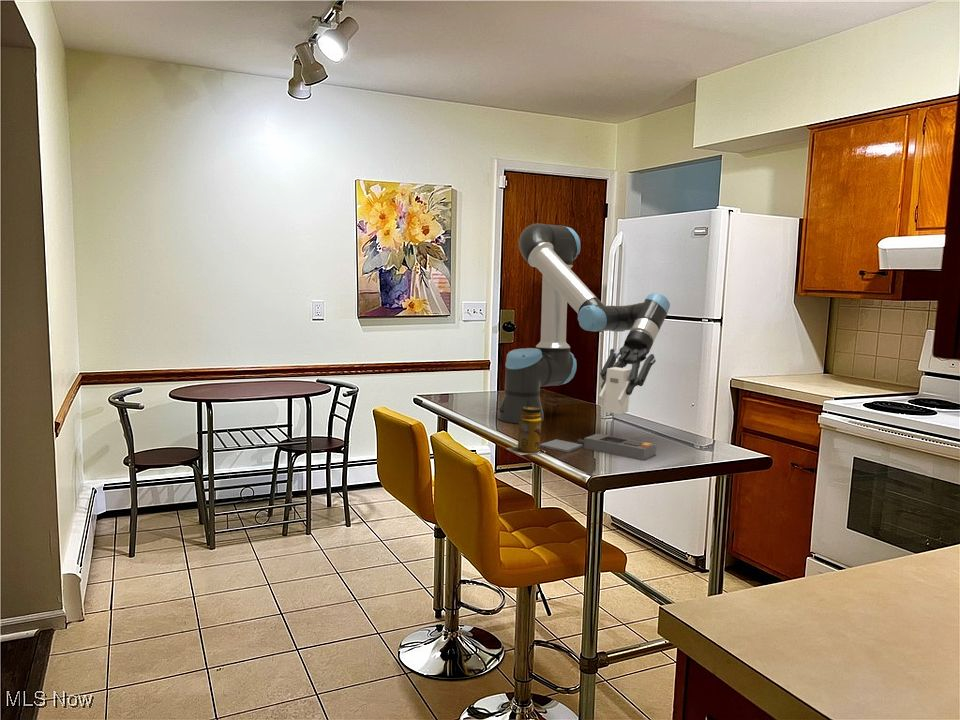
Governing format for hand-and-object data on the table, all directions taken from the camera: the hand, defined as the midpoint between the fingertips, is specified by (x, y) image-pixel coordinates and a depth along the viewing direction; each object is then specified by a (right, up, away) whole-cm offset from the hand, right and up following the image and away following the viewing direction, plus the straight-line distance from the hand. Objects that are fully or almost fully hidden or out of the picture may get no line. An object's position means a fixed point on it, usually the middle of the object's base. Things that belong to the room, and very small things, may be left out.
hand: (610, 400), depth 196 cm
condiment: (-23, -14, 0) cm, 27 cm away
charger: (+2, -3, +3) cm, 5 cm away
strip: (+1, -14, +5) cm, 15 cm away
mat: (-13, -13, +7) cm, 20 cm away
